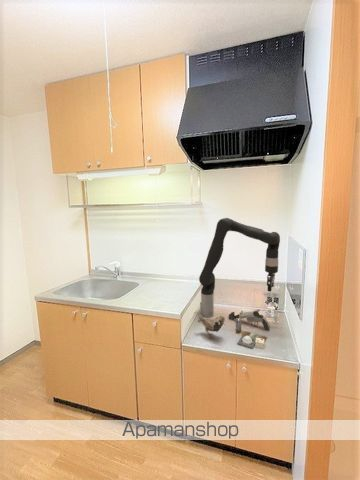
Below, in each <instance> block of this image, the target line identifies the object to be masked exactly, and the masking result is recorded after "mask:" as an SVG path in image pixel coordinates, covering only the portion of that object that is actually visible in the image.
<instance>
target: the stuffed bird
mask: <svg viewBox="0 0 360 480" xmlns="http://www.w3.org/2000/svg"><path fill="white" fill-rule="evenodd" d="M225 321H226V316H225V315H223V314H220V315H219V316H216V317H215V318H213V319H212V318H203V317H200V316H198V319H197V322H198V323H199V324H201V325H203V326H204V328H205V332H206V333H207V335H208V337H209V339H210V340H211V339H215V338H214V337H212V333H210V332H216V333H217V332H219V331H220V330H221V329H222V326H223V325H224V326H226V324H225V323H224V322H225Z"/></svg>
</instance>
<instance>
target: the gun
mask: <svg viewBox="0 0 360 480" xmlns="http://www.w3.org/2000/svg"><path fill="white" fill-rule="evenodd" d="M260 311H261V310H260V309H259V308H258V309H256V310H252V311H246V312H244V311H243V310H241V312H239V314H237V315H235V314H236V313H235V311H231V312H230V313H229V315H228V320H231V321H234V322H236V319H240V320H242V319H246V321H247V322H248V323H251V325H252V326H254V327H257V326H258V325H259V323H261V324H262V326H263V329H264V331H267V332H269V331H270V330H271V329H270V328H271V326H270V323H269V321H268V320H267V318H266V317H264V315H263V314H260V313H259V312H260Z"/></svg>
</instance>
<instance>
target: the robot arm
mask: <svg viewBox="0 0 360 480" xmlns="http://www.w3.org/2000/svg"><path fill="white" fill-rule="evenodd" d="M228 232H234V233H239V234H240V235H241V234H242V235H243V236H245V237H248V238H251V239H253V240H258V241H260V242H262V243H265V244H267V248H266V251H265V260H264V261H265V267H264V271H265V272H266V273H268V274H267V276H266V286H267V292H272V288H273V287H274V285H275V279H276V273H278V272H279V248H280V243H281V242H280V241H281V237H280V234H279V233H278V232H276V231H272V232H269V231H265V230H264V229H261V228H258V227H255V226H252V225H246V224H243V223H241V222H238V221H236V220H234V219H231V218H229V217H223V218H221V219H219V220H218V221H217V223H216V228H215V232H214V236H213V239H212V242H211V244H210V247H209V250H208V253H207V256H206V259H205V262H204V265H203V269H202V271H201V272H200V275H199V278H198V280H199V283H200V285H201V286H202V287H201V290H200V297H201V298H200V302H199V307H200V309H199V315H201V316H202V317H204V318H210V317H214V316H215V315H214V312H215V308H214V307H215V306H214V305H215V304H214V302H215V301H214V299H215V297H214V295H215V293H214V291H215V287H216V286H215V285H216V276H215V274H214V270H215V268H216V267H217V265H218V264H219V262H220V260H221V258H222V256H223V254H224V253H223V252H224V243H225V242H224V241H225V238H226V236H227V234H228Z"/></svg>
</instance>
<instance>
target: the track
mask: <svg viewBox="0 0 360 480" xmlns="http://www.w3.org/2000/svg"><path fill="white" fill-rule="evenodd" d="M232 333H233V334H235V335H239V336H241V337H242V336H249V337H250V338H253V339H256V338H261V339H264V343H266V342H267V340H268V338H269V337H268V336H264V335H260V334H257V333H254V332H250V331H247V330H243V329H241V333H236V329H235V330H234V331H233V332H232Z"/></svg>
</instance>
